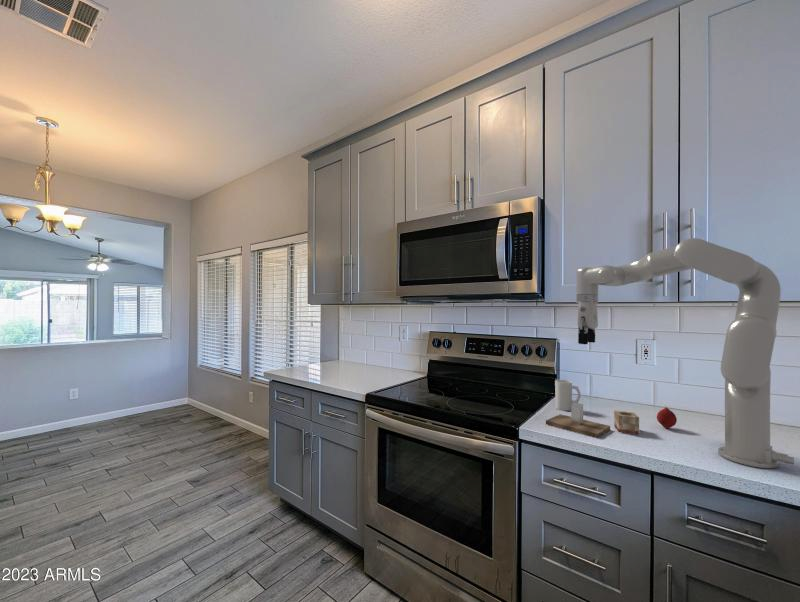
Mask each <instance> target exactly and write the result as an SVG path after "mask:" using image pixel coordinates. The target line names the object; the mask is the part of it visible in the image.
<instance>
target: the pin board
mask: <svg viewBox="0 0 800 602" xmlns="http://www.w3.org/2000/svg"><path fill="white" fill-rule="evenodd" d="M546 424H548V425H547V426H550V425H551V426H550V427H553V426H555V427H554V428H557V427H558V429H561V428H562V429H561V430H565V429H566V430H565V431H568V430H569V432H572V431H573V432H572V433H576V432H577V434H580V435H584V436H588V437H591V436H592V437H591V438H595V437H596V438H595V439H599V438H600V437H602V436H603V435H605V434H606V433H608V432H609V430H611V425H609V424H608V425H607V424H604V423H599V422H595V421H590V420H586V419H583V424H581V425H577V424H573V423H571V416H570V415H569V416H568V415H564V414H561V413H560V414H558V415H554V416H553V417H550V418H549V419H547V420H546V419H545V425H546ZM607 431H608V432H607ZM604 433H605V434H604ZM601 435H602V436H601ZM598 437H599V438H598Z"/></svg>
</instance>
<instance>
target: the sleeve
mask: <svg viewBox="0 0 800 602" xmlns="http://www.w3.org/2000/svg"><path fill="white" fill-rule="evenodd" d="M613 415H614V417H613V418H614V419H613V421H614V422H613V427H614V428H615V430H616V429H617V430H616V432H618V433H619V432H623V433H622V434H628V433H630V435H638V434H639V435H640V416H638V415H637V414H636V413H635V412H633V411H624V410H623V411H621V410H614V411H613Z"/></svg>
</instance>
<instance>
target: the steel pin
mask: <svg viewBox="0 0 800 602" xmlns="http://www.w3.org/2000/svg"><path fill="white" fill-rule="evenodd" d="M570 412H571V414H570V415H571V416H570V417H571V423H573V424H577V425H581V424H583V420H584V404H583V403H579V402H578V403H573V404H571V410H570Z"/></svg>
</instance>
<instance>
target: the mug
mask: <svg viewBox="0 0 800 602" xmlns="http://www.w3.org/2000/svg"><path fill="white" fill-rule="evenodd" d="M554 386H555V387H554V389H555V392H554V395H555V409H557V410H559V411H562V410H563V411H564V412H568V411H569V412H571V404H573V403H579V401H580V400H581V391H580V389H579V386H578V385H573V381H571V380H568V379H555V380H554ZM573 390H575V392H576V393H577V397H576V399H575V400H573V394H572V393H573Z"/></svg>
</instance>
